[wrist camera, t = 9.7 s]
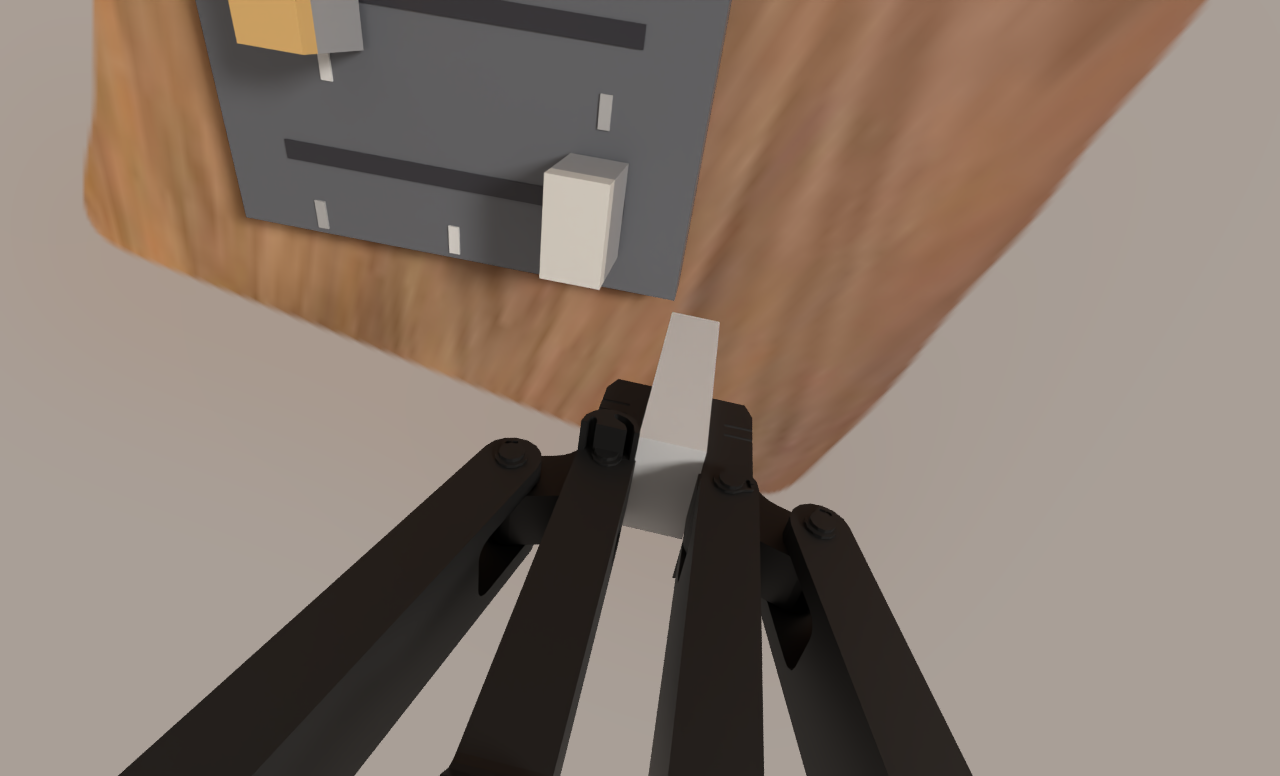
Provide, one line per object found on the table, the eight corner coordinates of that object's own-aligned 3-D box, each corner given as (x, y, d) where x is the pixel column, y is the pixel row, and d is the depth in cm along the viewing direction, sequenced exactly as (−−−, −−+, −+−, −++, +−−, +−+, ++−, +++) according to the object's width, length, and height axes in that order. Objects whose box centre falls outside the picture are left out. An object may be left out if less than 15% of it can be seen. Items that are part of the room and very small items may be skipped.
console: (212, -99, 29) (168, -108, 27) (734, -14, 27) (733, -17, 25) (275, 205, 37) (245, 217, 35) (678, 284, 35) (673, 301, 33)
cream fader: (570, 152, 30) (544, 172, 26) (628, 163, 29) (610, 184, 26) (564, 247, 32) (539, 278, 28) (617, 257, 32) (599, 289, 28)
